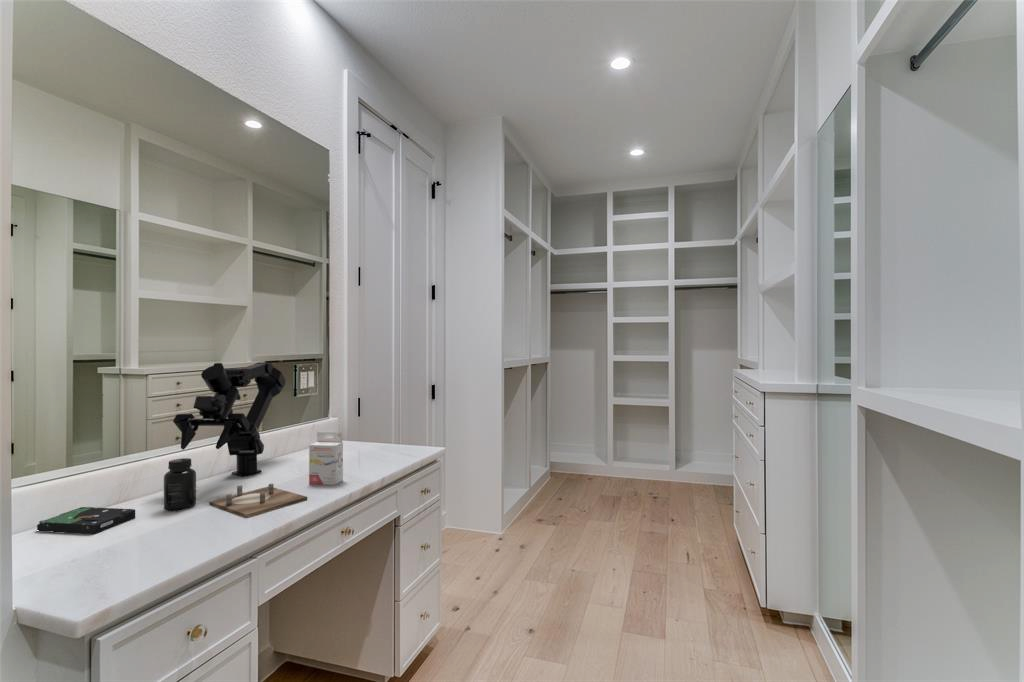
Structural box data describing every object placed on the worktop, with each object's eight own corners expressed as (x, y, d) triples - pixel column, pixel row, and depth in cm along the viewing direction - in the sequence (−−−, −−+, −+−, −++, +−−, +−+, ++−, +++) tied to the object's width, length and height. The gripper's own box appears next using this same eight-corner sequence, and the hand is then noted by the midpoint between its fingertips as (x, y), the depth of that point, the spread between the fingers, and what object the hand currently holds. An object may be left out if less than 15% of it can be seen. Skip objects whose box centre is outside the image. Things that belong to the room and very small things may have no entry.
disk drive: (136, 520, 117) (81, 517, 119) (136, 508, 117) (81, 505, 119) (94, 537, 106) (35, 534, 108) (94, 524, 106) (35, 521, 108)
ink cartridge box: (308, 484, 144) (307, 434, 144) (316, 479, 149) (316, 431, 149) (336, 485, 143) (335, 434, 143) (343, 480, 148) (343, 431, 148)
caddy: (209, 504, 126) (209, 491, 126) (269, 489, 139) (268, 477, 139) (246, 517, 116) (246, 503, 116) (307, 499, 129) (307, 487, 129)
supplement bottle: (202, 504, 126) (202, 458, 126) (176, 513, 120) (176, 464, 120) (183, 502, 128) (183, 456, 128) (156, 510, 122) (156, 462, 122)
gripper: (177, 385, 137) (149, 431, 126) (244, 384, 138) (222, 430, 127) (194, 409, 145) (169, 455, 134) (258, 408, 146) (238, 454, 134)
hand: (199, 448), depth 132 cm, fingers open, 9 cm apart
